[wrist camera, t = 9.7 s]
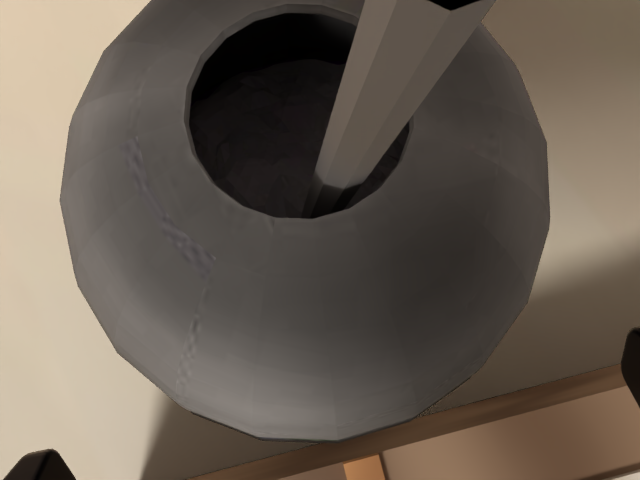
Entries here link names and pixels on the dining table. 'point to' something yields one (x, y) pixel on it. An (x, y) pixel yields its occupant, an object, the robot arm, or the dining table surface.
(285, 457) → the slotted wooden bar
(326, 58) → the beverage cup
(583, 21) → the dining table surface
